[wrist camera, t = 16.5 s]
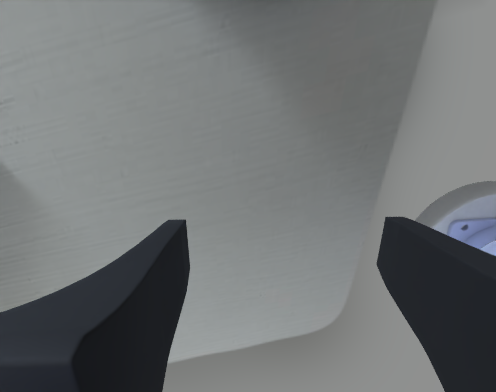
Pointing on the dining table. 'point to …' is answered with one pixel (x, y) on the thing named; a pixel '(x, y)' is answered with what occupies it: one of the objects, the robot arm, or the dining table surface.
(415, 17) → the dining table surface
